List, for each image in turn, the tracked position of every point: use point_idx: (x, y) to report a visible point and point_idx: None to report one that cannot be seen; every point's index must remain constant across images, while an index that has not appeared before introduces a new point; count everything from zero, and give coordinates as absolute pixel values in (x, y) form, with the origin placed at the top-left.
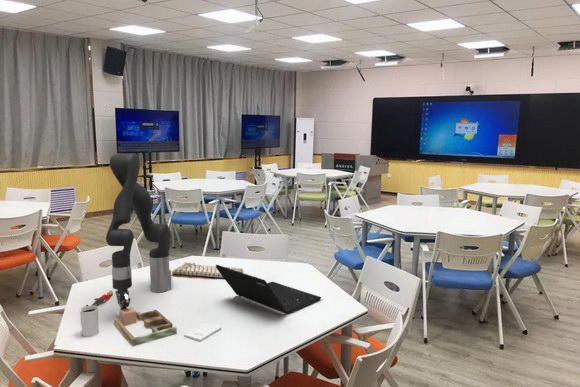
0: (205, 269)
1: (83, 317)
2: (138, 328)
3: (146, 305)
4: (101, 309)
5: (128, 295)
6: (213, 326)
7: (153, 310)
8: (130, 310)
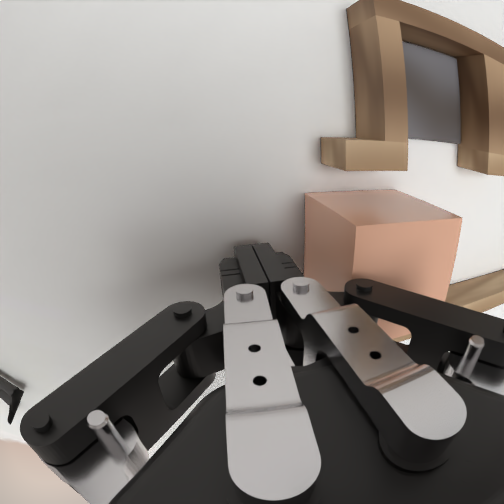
0: None
1: None
2: (461, 206)
3: (65, 22)
4: (22, 355)
5: (420, 367)
6: None
7: (380, 17)
8: (420, 262)
